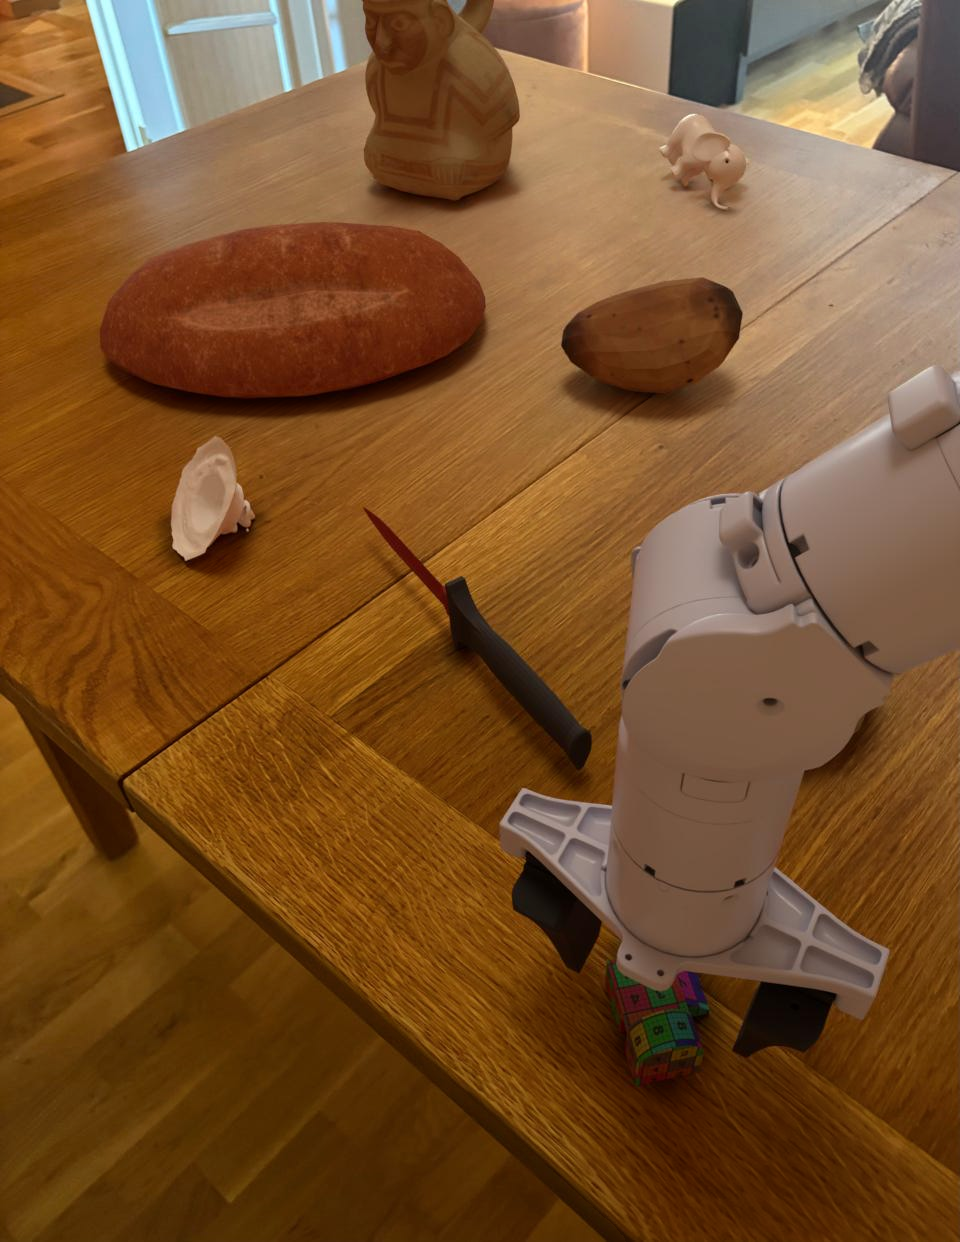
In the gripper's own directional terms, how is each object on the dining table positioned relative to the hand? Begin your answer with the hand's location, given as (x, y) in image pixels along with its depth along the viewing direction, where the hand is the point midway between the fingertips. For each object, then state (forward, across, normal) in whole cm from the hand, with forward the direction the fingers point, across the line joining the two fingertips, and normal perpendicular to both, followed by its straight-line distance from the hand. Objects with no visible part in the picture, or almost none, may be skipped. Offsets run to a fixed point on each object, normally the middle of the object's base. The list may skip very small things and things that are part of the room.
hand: (662, 991), depth 44 cm
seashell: (+2, -39, +16) cm, 42 cm away
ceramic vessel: (+2, -54, +72) cm, 90 cm away
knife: (+2, -19, +15) cm, 24 cm away
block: (+2, 0, 0) cm, 2 cm away
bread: (+2, -49, +39) cm, 63 cm away
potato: (+2, -20, +45) cm, 49 cm away
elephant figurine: (+2, -29, +80) cm, 85 cm away
